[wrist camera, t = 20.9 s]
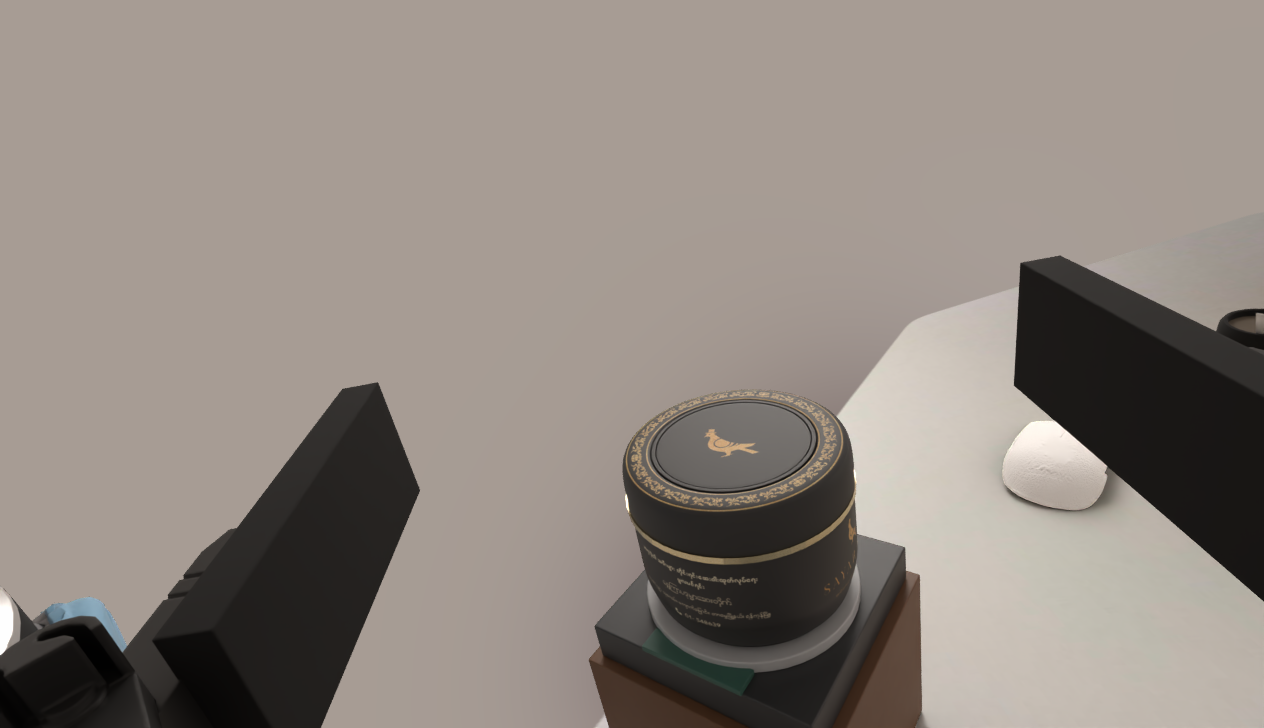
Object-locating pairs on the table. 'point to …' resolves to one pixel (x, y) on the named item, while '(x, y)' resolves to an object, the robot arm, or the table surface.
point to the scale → (770, 661)
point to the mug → (1244, 327)
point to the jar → (745, 514)
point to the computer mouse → (1053, 468)
